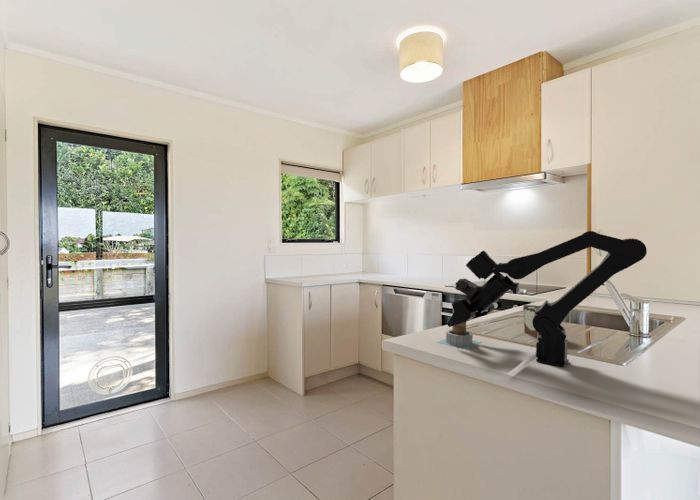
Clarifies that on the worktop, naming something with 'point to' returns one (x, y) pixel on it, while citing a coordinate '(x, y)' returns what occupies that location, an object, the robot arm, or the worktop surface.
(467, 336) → the ring stand
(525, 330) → the food container
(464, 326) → the walnut peg
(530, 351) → the worktop surface
